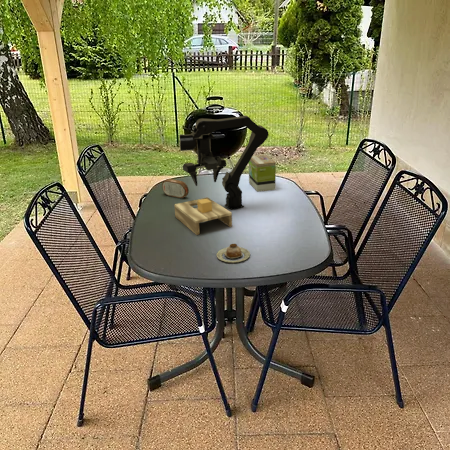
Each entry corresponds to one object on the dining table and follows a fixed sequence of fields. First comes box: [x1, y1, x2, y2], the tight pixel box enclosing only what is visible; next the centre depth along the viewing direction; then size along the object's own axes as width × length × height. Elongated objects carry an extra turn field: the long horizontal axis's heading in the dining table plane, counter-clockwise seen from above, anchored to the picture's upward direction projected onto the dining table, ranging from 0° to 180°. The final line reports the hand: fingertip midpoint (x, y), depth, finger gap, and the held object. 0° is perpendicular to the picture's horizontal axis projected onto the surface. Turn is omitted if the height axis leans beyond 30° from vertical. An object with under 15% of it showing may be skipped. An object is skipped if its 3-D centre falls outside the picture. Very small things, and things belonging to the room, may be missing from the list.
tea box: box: [248, 154, 277, 193], centre depth 221 cm, size 15×10×15 cm
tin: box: [161, 178, 190, 199], centre depth 212 cm, size 15×3×8 cm, turn 58°
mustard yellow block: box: [196, 199, 212, 213], centre depth 179 cm, size 4×4×8 cm
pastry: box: [216, 243, 251, 264], centre depth 153 cm, size 12×12×5 cm
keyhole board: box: [174, 197, 233, 236], centre depth 182 cm, size 16×22×6 cm
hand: (205, 183), depth 192 cm, fingers open, 9 cm apart
